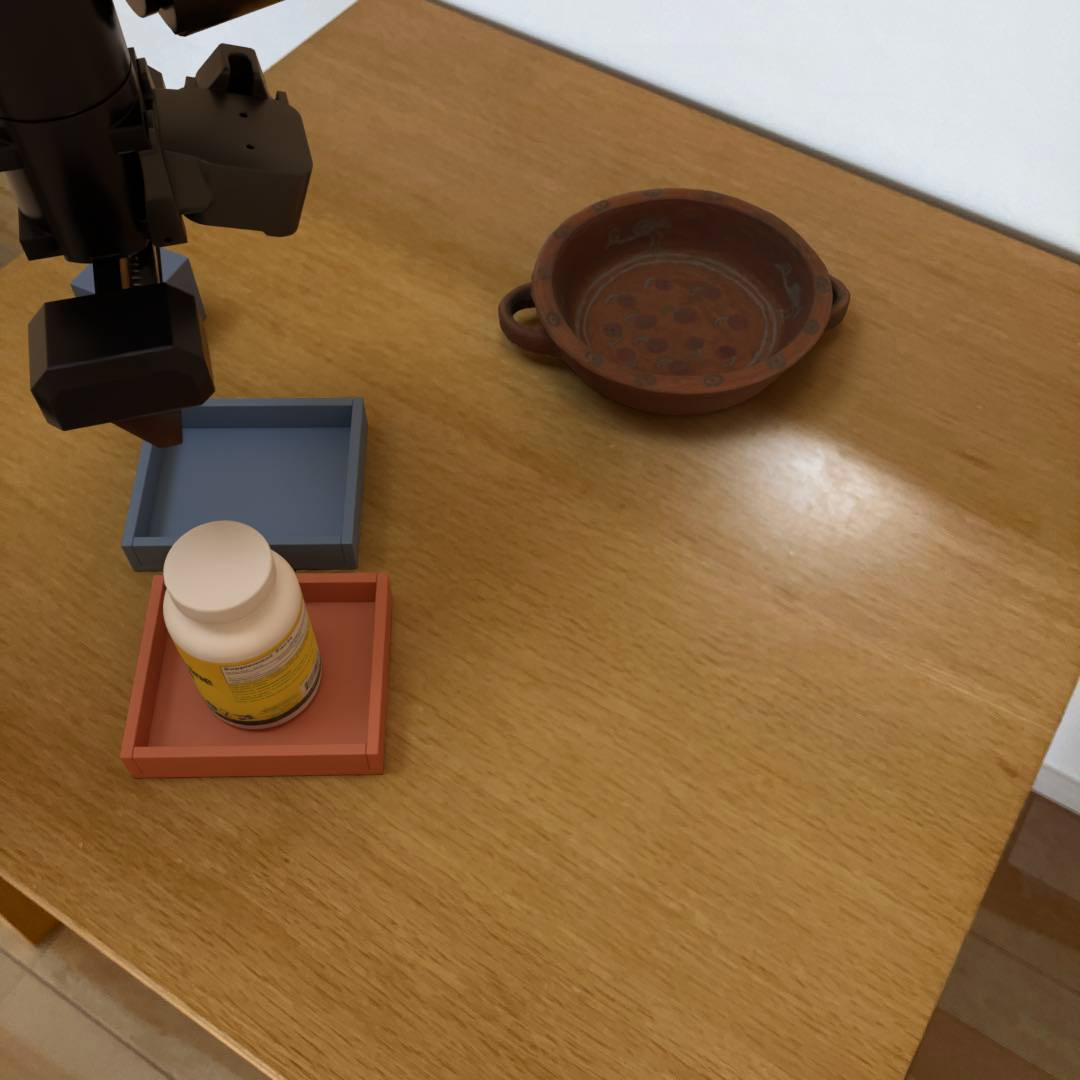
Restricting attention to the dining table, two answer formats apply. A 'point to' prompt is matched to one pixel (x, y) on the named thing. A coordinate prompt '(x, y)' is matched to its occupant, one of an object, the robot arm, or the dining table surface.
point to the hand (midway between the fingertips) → (161, 368)
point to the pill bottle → (240, 625)
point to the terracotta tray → (292, 747)
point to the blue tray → (256, 479)
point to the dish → (676, 299)
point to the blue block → (173, 272)
